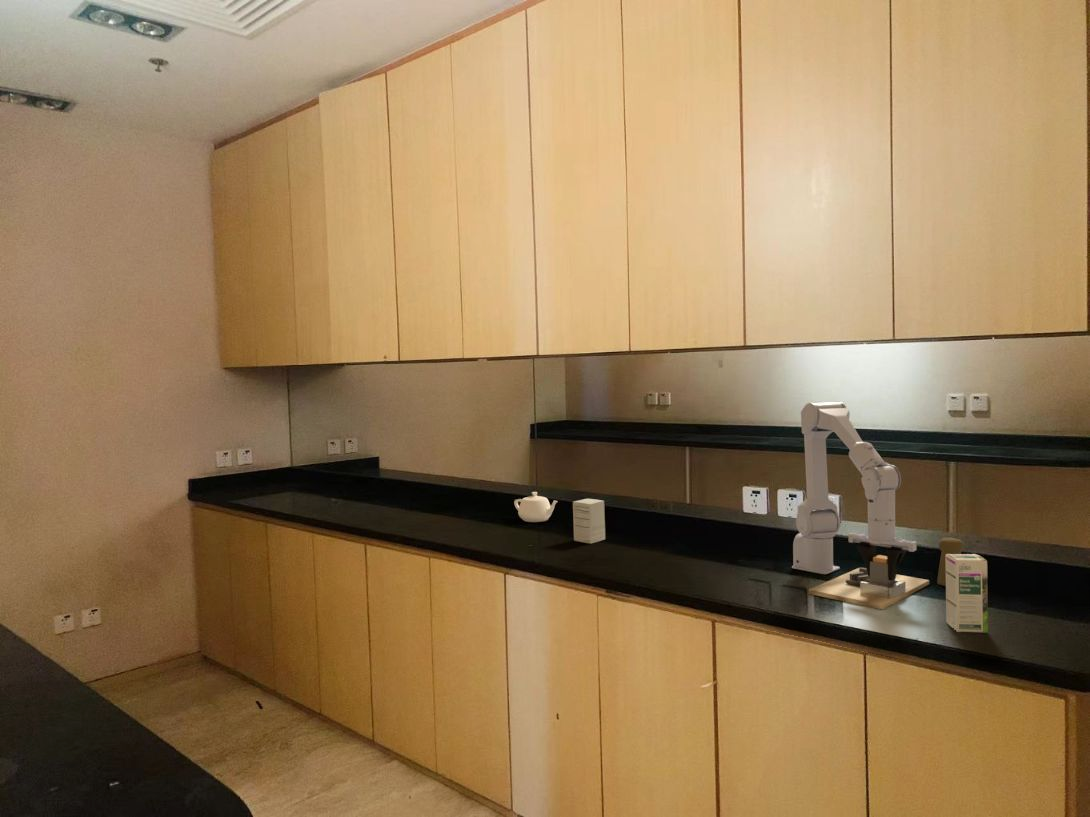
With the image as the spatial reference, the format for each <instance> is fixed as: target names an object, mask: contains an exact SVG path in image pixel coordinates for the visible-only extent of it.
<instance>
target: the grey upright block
mask: <svg viewBox="0 0 1090 817" xmlns="http://www.w3.org/2000/svg"><path fill="white" fill-rule="evenodd" d="M865 582H868V583H874V584H879V585H884V586H891V585H893V584H895V579H894V580H892V581H891V580H889V578H888V559H887V555H882V554H876V556H875V557H873V560H872V561H870V579H867V580H866V581H865Z"/></svg>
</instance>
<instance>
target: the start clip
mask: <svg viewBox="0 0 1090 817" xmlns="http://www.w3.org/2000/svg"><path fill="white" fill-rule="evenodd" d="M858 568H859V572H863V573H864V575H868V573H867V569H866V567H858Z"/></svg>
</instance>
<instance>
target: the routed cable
mask: <svg viewBox="0 0 1090 817" xmlns="http://www.w3.org/2000/svg"><path fill="white" fill-rule="evenodd" d="M846 583H847V584H850V585H855V586H860V582H858V578H856V579H855V581H852V580H846Z"/></svg>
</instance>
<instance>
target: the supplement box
mask: <svg viewBox="0 0 1090 817" xmlns="http://www.w3.org/2000/svg"><path fill="white" fill-rule="evenodd" d="M572 514H573V515H572V516H573V520H572V521H573V541H575V542H580V543H585V544H594V543H598V542H601V541H604V540H606V521H605V520H606V519H605V518H606V517H605V515H606V514H605V500H601V499H594V498H584V499H579V500H575V501H572Z"/></svg>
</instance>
